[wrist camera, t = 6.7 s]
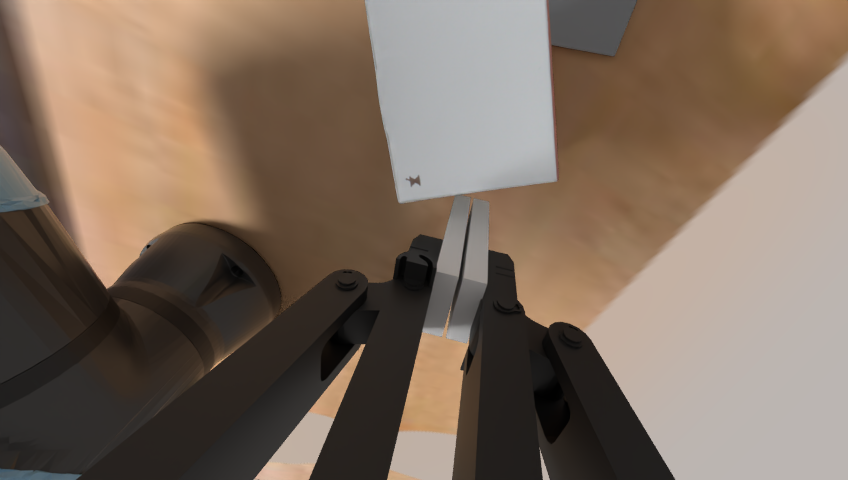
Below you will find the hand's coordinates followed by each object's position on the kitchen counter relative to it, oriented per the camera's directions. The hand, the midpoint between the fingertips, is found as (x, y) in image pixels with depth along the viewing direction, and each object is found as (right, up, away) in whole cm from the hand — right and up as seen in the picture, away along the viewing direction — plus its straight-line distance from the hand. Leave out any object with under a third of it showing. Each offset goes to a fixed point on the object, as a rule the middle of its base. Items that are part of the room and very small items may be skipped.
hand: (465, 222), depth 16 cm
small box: (+2, +8, +8) cm, 11 cm away
